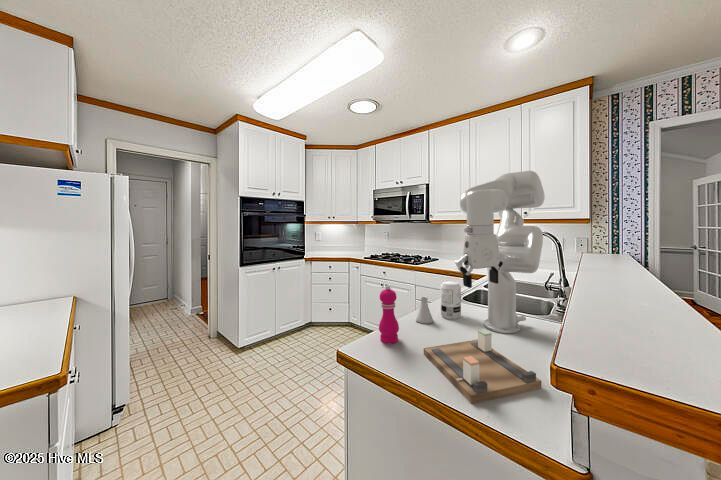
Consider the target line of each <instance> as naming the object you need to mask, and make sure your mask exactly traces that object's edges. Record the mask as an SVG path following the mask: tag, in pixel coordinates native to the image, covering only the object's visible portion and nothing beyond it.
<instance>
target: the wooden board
mask: <svg viewBox="0 0 721 480" xmlns="http://www.w3.org/2000/svg"><path fill="white" fill-rule="evenodd" d="M423 355H424V356H425V357H426V359H428V361H429V362H431V364H432V365H433V366H434V367H435V368H436V369H437V370H438V371H439V372H440V373H442V375H443V376H444V377H445V378H446V379H447V380H448V381H449V382H450V383H451V384H452V385H453V386H454V388H455V389H456V390H457V391H458V392H459V393H460V394H461V395H462V396H463V397H464V398H465V399H466V400H467V401H468V402H469V403H470V404H475V403H481V402H486V401H490V400H493V399H494V400H495V399H500V398H503V397H508V396H512V395H516V394H517V395H518V394H521V393H526V392H531V391H536V390H540V389H542V380H541V379H540V378H538V376H537V373H536V372H534V371H533V370H529V371H527V370H526V369H524V368H522V367H521V366H520V365H518V364H516V363H515V362H513V361H512V360H510V359H509V358H507V357H506V356H504V355H503V354H502V353H499V352H498V351H496V350H495V349H494V348H493V347H491V351H485V352H484V351H483V350H482V349H480V348H479V347H478V339H473V340H466V341H461V342H460V341H459V342H453V343H447V344H441V345H434V346H429V347H428V346H427V347H423ZM469 356H472V357H473V358H475V359H476V360H477V361H479V382H474V383H473V385H470V384H469V383H468V382H467V381H466V380H465V379H464V378H463V357H469Z"/></svg>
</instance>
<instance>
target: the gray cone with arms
mask: <svg viewBox="0 0 721 480" xmlns="http://www.w3.org/2000/svg"><path fill="white" fill-rule="evenodd" d="M428 299H429V297H428V296H420V305H419V311H418V312H417V316H416V319H415V322H417V323H419V324H426V325H429V324H430V325H431V324H432V323H434V319H433V317H432V314H431V311H430V308H429V305H428Z"/></svg>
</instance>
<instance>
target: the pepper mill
mask: <svg viewBox="0 0 721 480" xmlns="http://www.w3.org/2000/svg"><path fill="white" fill-rule="evenodd" d="M384 288H385V289H382V290H381V291H380V293H379V300H380V302H381V304H380V305H381V306H380V307H381V308H382V315H381V319H380V320H379V324H378V331H379V332H380V335H379V336H380V341H381V343H384V344H388V345H389V344H395V343H397V342H398V340H399V335H398V332H399V330H400V327H399V323H398V320H397V319H396V318H397V317H396V316H395V308H396V301H397V294H396V292H395V290H393V289H391V286H390V285H389V284H386V285H385V287H384Z"/></svg>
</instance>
